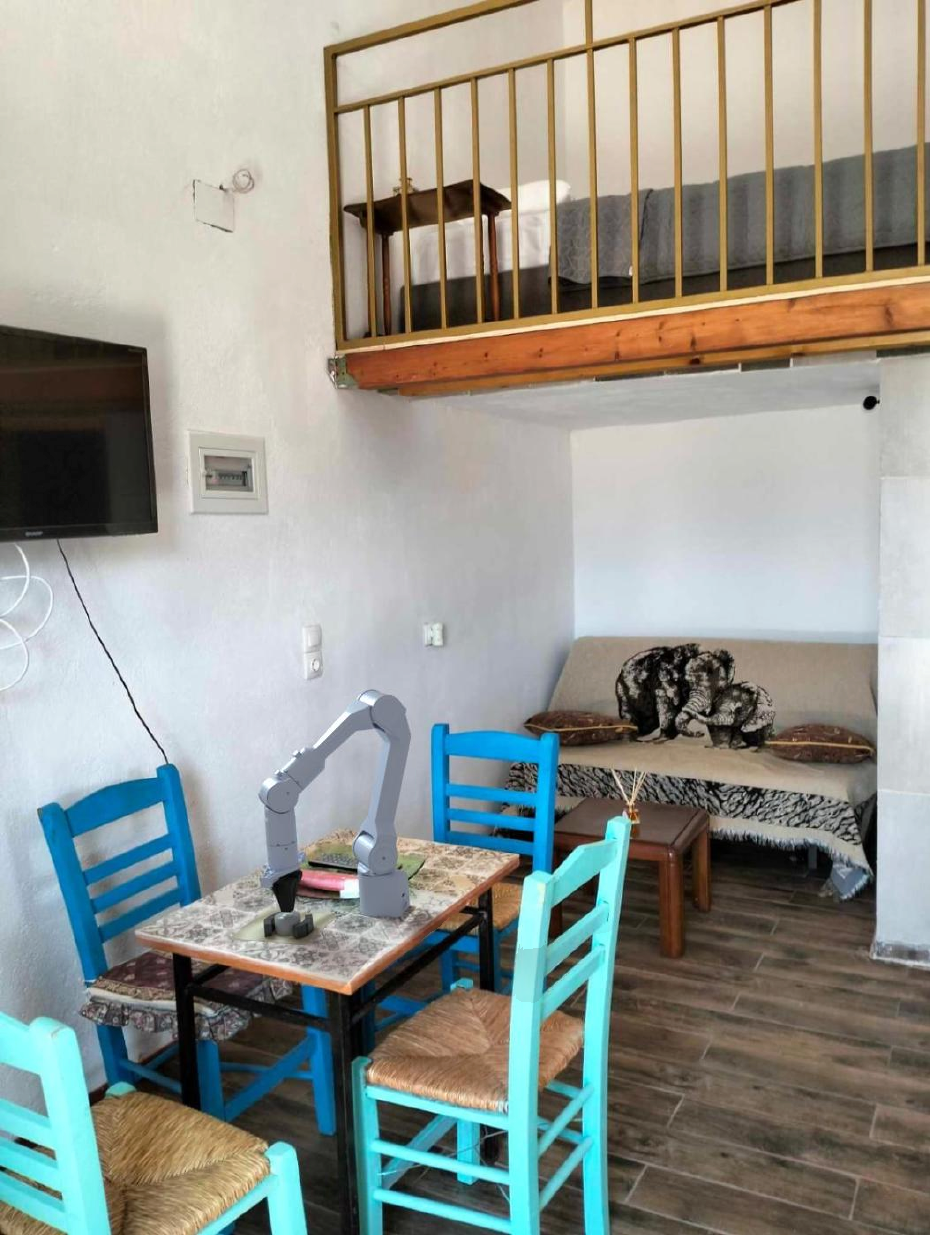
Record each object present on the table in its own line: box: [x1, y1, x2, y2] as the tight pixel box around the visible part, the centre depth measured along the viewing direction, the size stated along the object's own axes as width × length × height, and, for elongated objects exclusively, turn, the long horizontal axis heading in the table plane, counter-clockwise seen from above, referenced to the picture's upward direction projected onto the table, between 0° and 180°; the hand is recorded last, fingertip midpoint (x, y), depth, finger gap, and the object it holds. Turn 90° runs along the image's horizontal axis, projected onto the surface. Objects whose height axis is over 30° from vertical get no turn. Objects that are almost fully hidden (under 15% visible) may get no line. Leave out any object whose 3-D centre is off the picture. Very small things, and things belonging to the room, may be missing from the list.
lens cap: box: [275, 910, 301, 936], centre depth 188 cm, size 5×5×3 cm
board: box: [228, 909, 339, 946], centre depth 191 cm, size 16×14×1 cm
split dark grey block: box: [263, 912, 314, 940], centre depth 188 cm, size 9×6×2 cm
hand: (287, 911), depth 188 cm, fingers closed
